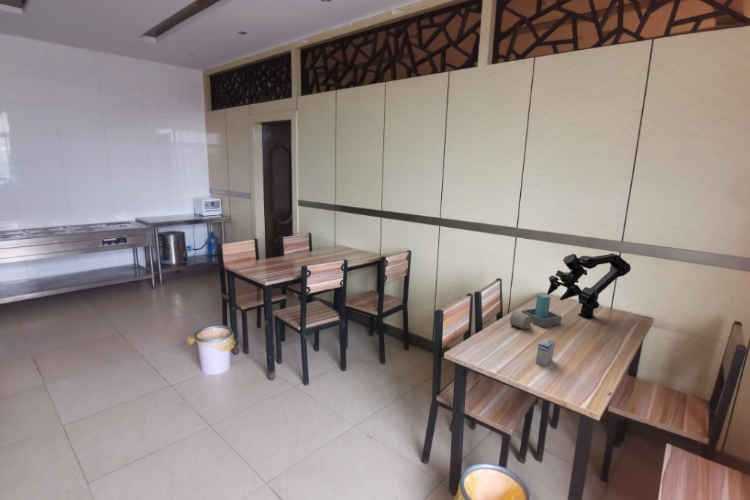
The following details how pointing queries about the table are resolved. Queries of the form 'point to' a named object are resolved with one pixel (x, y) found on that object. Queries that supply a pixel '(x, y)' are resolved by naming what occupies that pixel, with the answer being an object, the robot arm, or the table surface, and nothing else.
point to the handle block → (542, 306)
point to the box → (550, 321)
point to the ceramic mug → (520, 320)
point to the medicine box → (545, 352)
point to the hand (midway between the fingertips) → (553, 296)
